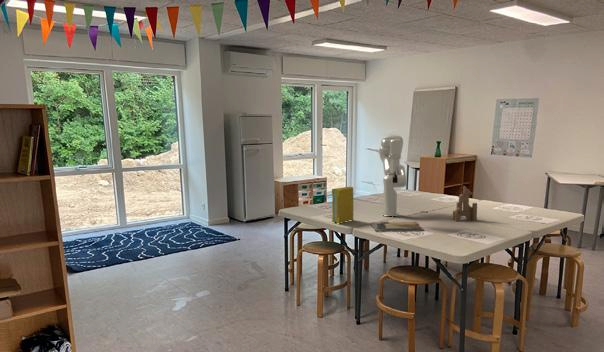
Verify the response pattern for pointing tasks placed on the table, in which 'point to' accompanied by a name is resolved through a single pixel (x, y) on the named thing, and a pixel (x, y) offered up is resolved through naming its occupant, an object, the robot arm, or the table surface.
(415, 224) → the tongs fixed
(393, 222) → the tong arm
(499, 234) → the table surface
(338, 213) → the book
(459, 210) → the wooden toy
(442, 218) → the table surface
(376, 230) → the mat
